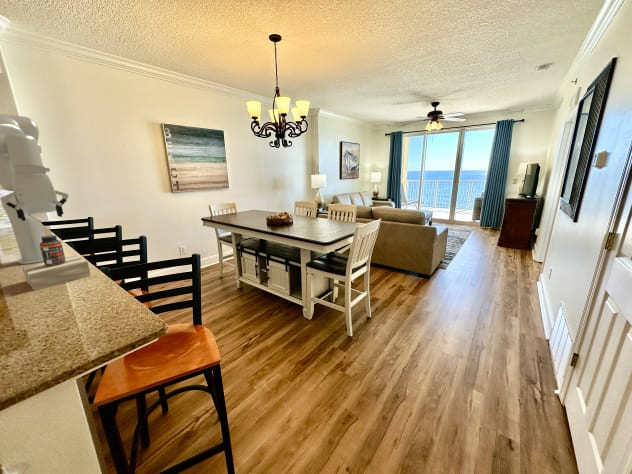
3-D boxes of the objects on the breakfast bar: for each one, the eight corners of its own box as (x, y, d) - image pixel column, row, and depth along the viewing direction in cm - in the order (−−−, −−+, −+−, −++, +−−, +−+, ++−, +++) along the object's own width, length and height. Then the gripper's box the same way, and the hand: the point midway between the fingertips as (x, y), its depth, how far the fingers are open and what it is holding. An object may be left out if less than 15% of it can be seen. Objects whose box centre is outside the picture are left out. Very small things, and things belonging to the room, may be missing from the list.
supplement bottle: (52, 267, 97) (44, 238, 95) (40, 266, 99) (32, 237, 96) (70, 261, 103) (63, 234, 100) (58, 261, 104) (51, 233, 101)
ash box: (26, 281, 100) (22, 266, 98) (80, 268, 112) (76, 255, 111) (34, 290, 92) (29, 274, 90) (90, 275, 105) (87, 261, 103)
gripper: (59, 171, 101) (70, 214, 105) (-10, 171, 87) (5, 220, 92) (65, 171, 97) (75, 216, 101) (-7, 171, 83) (9, 223, 87)
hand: (42, 218), depth 96 cm, fingers open, 9 cm apart
